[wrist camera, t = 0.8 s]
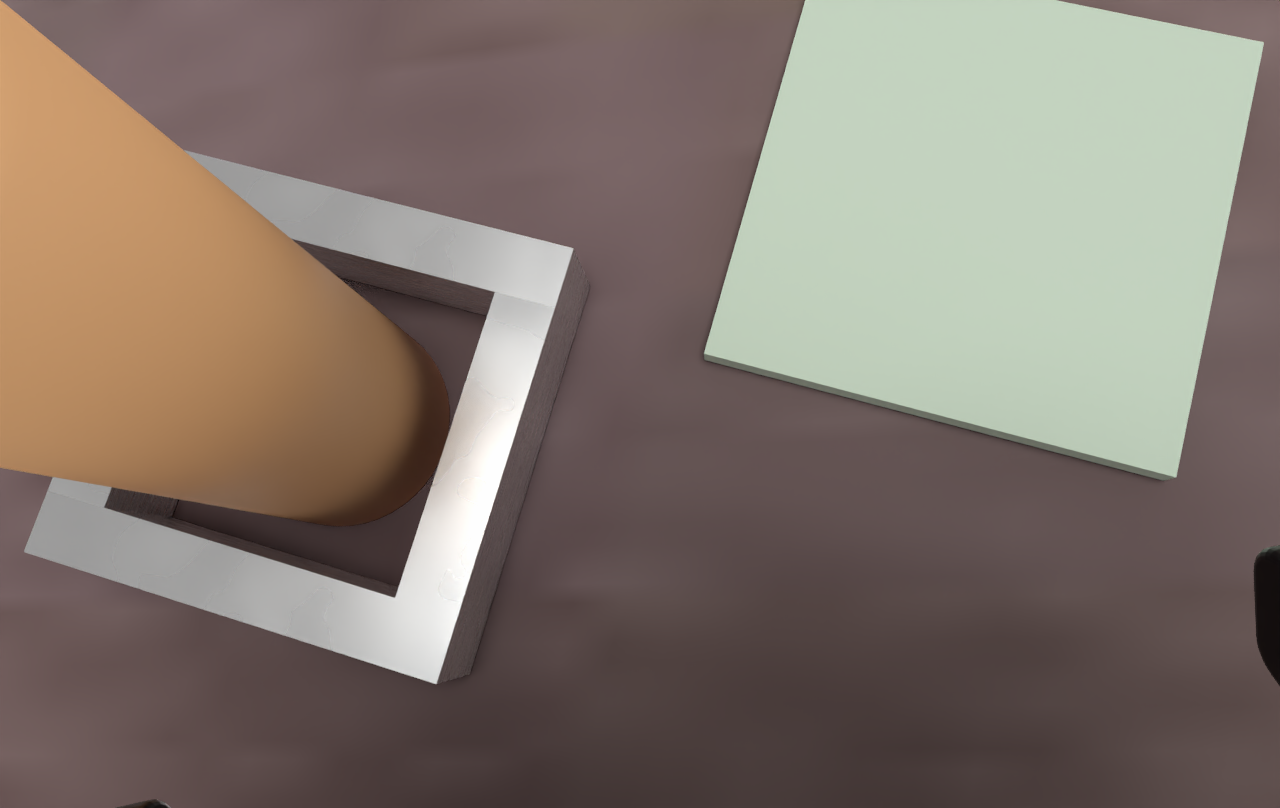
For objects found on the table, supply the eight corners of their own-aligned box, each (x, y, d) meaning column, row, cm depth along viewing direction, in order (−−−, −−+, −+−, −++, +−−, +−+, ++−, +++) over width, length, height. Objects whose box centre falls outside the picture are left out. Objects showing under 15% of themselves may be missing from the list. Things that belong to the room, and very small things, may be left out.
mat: (1163, 480, 21) (1176, 477, 20) (704, 359, 22) (703, 353, 22) (1250, 57, 22) (1264, 42, 22) (817, -32, 24) (819, -48, 23)
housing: (469, 674, 21) (436, 684, 19) (100, 556, 23) (23, 552, 20) (590, 285, 23) (573, 248, 20) (236, 195, 24) (180, 149, 21)
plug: (410, 552, 22) (-180, 470, 8) (215, 493, 23) (-665, 315, 8) (476, 348, 23) (52, -72, 8) (286, 297, 23) (-406, -174, 9)
